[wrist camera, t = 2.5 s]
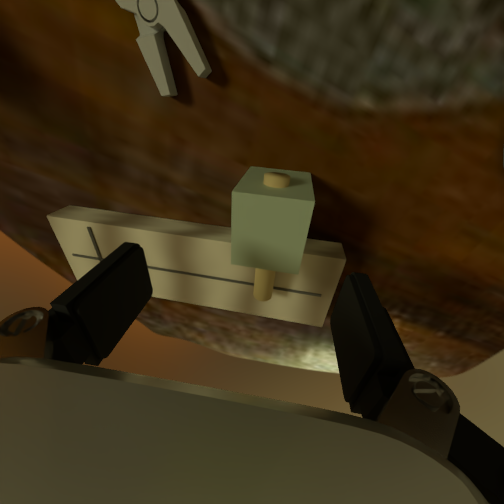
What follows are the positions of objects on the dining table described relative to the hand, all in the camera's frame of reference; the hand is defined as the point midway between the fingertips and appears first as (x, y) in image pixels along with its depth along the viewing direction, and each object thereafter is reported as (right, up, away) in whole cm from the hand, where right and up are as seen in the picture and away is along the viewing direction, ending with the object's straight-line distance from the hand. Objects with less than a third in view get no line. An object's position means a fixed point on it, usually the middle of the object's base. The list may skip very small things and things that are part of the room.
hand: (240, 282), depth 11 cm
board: (-5, +1, +13) cm, 13 cm away
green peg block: (+2, +4, +9) cm, 10 cm away
